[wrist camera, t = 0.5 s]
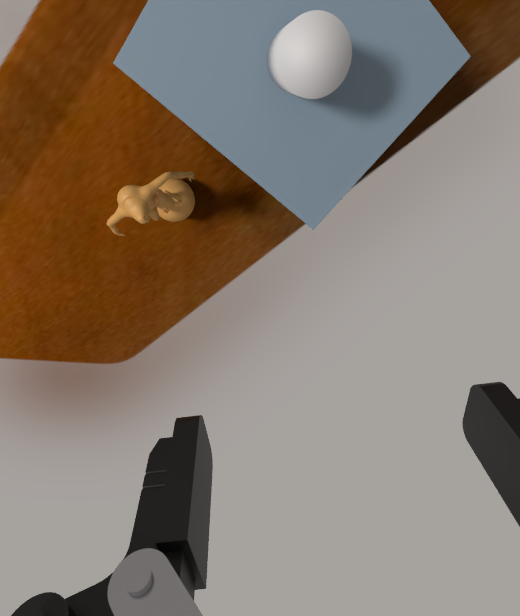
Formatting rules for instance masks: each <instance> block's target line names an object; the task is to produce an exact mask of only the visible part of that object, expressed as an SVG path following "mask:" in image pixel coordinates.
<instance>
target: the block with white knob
mask: <svg viewBox="0 0 520 616" xmlns="http://www.w3.org/2000/svg"><path fill="white" fill-rule="evenodd" d="M470 57H471V56H470V55H469V53H468V52H467V51H466V49H465V48H464V47H463V45H462V44H461V43H460V41H459V40H458V39H457V37H456V36H455V35H454V33H453V32H452V31H451V29H450V28H449V26H448V25H447V24H446V22H445V21H444V20H443V18H442V17H441V16H440V14H439V13H438V12H437V10H436V9H435V8H434V6H433V5H432V4H431V2H430V1H429V0H148V2H147V4H146V6H145V7H144V9H143V11H142V13H141V14H140V16H139V18H138V20H137V22H136V23H135V25H134V27H133V29H132V30H131V32H130V34H129V36H128V38H127V39H126V41H125V43H124V45H123V46H122V48H121V50H120V52H119V54H118V55H117V57H116V59H115V61H114V62H113V64H115V65H116V66H117V67H118V68H119V69H121V70H122V71H123V72H124V73H125V74H127V75H128V76H129V77H130V78H131V79H133V80H134V81H135V82H136V83H137V84H139V85H140V86H141V87H142V88H143V89H145V90H146V91H147V92H148V93H149V94H151V95H152V96H153V97H154V98H155V99H157V100H158V101H159V102H160V103H161V104H163V105H164V106H165V107H166V108H168V109H169V110H170V111H171V112H172V113H174V114H175V115H176V116H177V117H178V118H180V119H181V120H182V121H183V122H184V123H186V124H187V125H188V126H189V127H190V128H192V129H193V130H194V131H195V132H196V133H198V134H199V135H200V136H201V137H202V138H204V139H205V140H206V141H207V142H208V143H210V144H211V145H212V146H213V147H214V148H216V149H217V150H218V151H219V152H220V153H222V154H223V155H224V156H225V157H226V158H228V159H229V160H230V161H231V162H232V163H234V164H235V165H236V166H237V167H239V168H240V169H241V170H242V171H243V172H245V173H246V174H247V175H248V176H249V177H251V178H252V179H253V180H254V181H255V182H257V183H258V184H259V185H260V186H261V187H263V188H264V189H265V190H266V191H267V192H269V193H270V194H271V195H272V196H273V197H275V198H276V199H277V200H278V201H279V202H281V203H282V204H283V205H284V206H285V207H287V208H288V209H289V210H290V211H291V212H293V213H294V214H295V215H296V216H297V217H299V218H300V219H301V220H302V221H303V222H305V223H306V224H307V225H308V226H309V227H311V228H312V229H315V227H316V226H317V225H318V224H319V223H320V222H321V221H322V219H324V218H325V216H326V215H327V214H328V213H329V212H330V211H331V209H333V208H334V207H335V205H336V204H337V203H338V202H339V201H340V200H341V199H342V198H343V196H345V194H346V193H347V192H348V191H349V190H350V189H351V188H352V187H353V186H354V185H355V183H356V182H357V181H358V180H359V179H360V178H361V177H362V176H363V175H364V174H365V172H366V171H367V170H368V169H369V168H370V167H371V166H372V165H373V164H374V163H375V161H376V160H377V159H378V158H379V157H380V156H381V155H382V154H383V153H384V152H385V150H386V149H387V148H388V147H389V146H390V145H391V144H392V143H393V142H394V141H395V139H396V138H397V137H398V136H399V135H400V134H401V133H402V132H403V131H404V130H405V128H406V127H407V126H408V125H409V124H410V123H411V122H412V121H413V120H414V118H415V117H416V116H417V115H418V114H419V113H420V112H421V111H422V110H423V109H424V107H425V106H426V105H427V104H428V103H429V102H430V101H431V100H432V99H433V98H434V96H435V95H436V94H437V93H438V92H439V91H440V90H441V89H442V88H443V87H444V85H445V84H446V83H447V82H448V81H449V80H450V79H451V78H452V77H453V76H454V74H455V73H456V72H457V71H458V70H459V69H460V68H461V67H462V66H463V65H464V63H465V62H466V61H467V60H468V59H469V58H470Z"/></svg>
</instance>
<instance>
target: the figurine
mask: <svg viewBox="0 0 520 616" xmlns="http://www.w3.org/2000/svg"><path fill="white" fill-rule="evenodd" d="M193 173H194V172H192V171H189V172H166V173H164V174H162V175H160V176H159V177H158V178H156V179H155V180H153V181H152V182H151V183H149V184H147V185H145V186H142V187H140V186H136V185H127V186H125V187H123V188H121V190H120V191H119V193H118V196H117V200H118V204H119V206H118V208H117V210H116V212H115V213H114V214H113V215H112V216H111V217H110V218H109V219H108V221H107V225H108V226H109V227H110V228H111V230H112V231H113V233H115V234H116V235H120V236H125V235H124V234H121V233H119V232H118V228H117V227H116V226H115V223H117V222H118V221H120V220H121V219H122V218H124V217H131V218H134V219H136V220H137V221H138V222H140V223H147V222H149V220H150V218H152V219H153V220H155V221H156V220H158V219H159V216H160V217H162V218H163V219H165V220H168V221H172V222H177V221H181V220H184V219H186V218H187V217H188V216H189V215H190V214H191V213H192V211H193V209H194V206H195V196H194V193H193V191H192V189H191V187H190V186H189V185H188V184H187V183H186V182H184V181H183V180H180V179H181V178H185V177H188V178H189V180H190V182H191V178H192V179H194V178H193V176H195V175H194V174H193ZM194 180H195V179H194Z"/></svg>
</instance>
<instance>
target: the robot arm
mask: <svg viewBox="0 0 520 616" xmlns="http://www.w3.org/2000/svg"><path fill="white" fill-rule="evenodd" d="M463 430H464V434H465V437H466V439H467V441H468V443H469V444H470V446H471V448H472V449H473V451H474V453H475V454H476V456H477V458H478V459H479V461H480V462H481V464H482V466H483V467H484V469H485V471H486V472H487V474H488V476H489V477H490V479H491V480H492V482H493V484H494V485H495V487H496V488H497V490H498V492H499V493H500V495H501V497H502V498H503V500H504V502H505V503H506V505H507V506H508V508H509V510H510V511H511V513H512V515H513V516H514V518H515V520H516V521H517V523H518V525H519V526H520V399H517V398H516V397H515V396H514V395H513V393H512V392H511V391H510V390H509V388H508V387H507V386H506V385H505V384H503V383H501V382H495V383H487V384H478V385H473V386H472V387H471V389H470V393H469V397H468V401H467V405H466V409H465V413H464V418H463ZM211 486H212V453H211V447H210V443H209V439H208V435H207V431H206V428H205V424H204V420H203V417H202V416H201V415H200V416H191V417H182V418H177V419H176V421H175V426H174V432H173V437H170V438H161V439H159V441H158V442H157V444H156V445H155V447H154V448H153V450H152V451H151V453H150V455H149V459H148V464H147V468H146V475H145V477H144V482H143V490H142V491H141V496H140V500H139V505H138V510H137V514H136V519H135V523H134V528H133V532H132V537H131V542H130V546H129V549H128V552H127V554H126V556H125V558H124V559H123V560H122V561H121V563H120V564H119V565H118V566H117V568H116V569H115V571H114V572H113V573H112V574H111V575H110V576H108V577H107V578H106V579H104V580H103V581H101V582H99V583H97V584H96V585H94V586H91V587H89V588H87V589H85V590H83V591H81V592H79V593H77V594H74V595H72V596H70V597H68V598H66V599H64V598H63V597H61V596H60V595H59V594H56V593H52V592H49V593H42V594H39V595H36V596H34V597H32V598H31V599H29V600H27V601H26V602H25V603H24V604H22V605H21V606H20V607H19V608H18V609H17V610H16V611H15V612H14V613H13V614H12V615H11V616H202V614H201V612H200V611H199V609H198V607H197V606H196V604H195V603H194V591H195V590H198V589H205V588H206V578H207V560H208V559H207V558H208V541H209V523H210V505H211Z"/></svg>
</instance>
